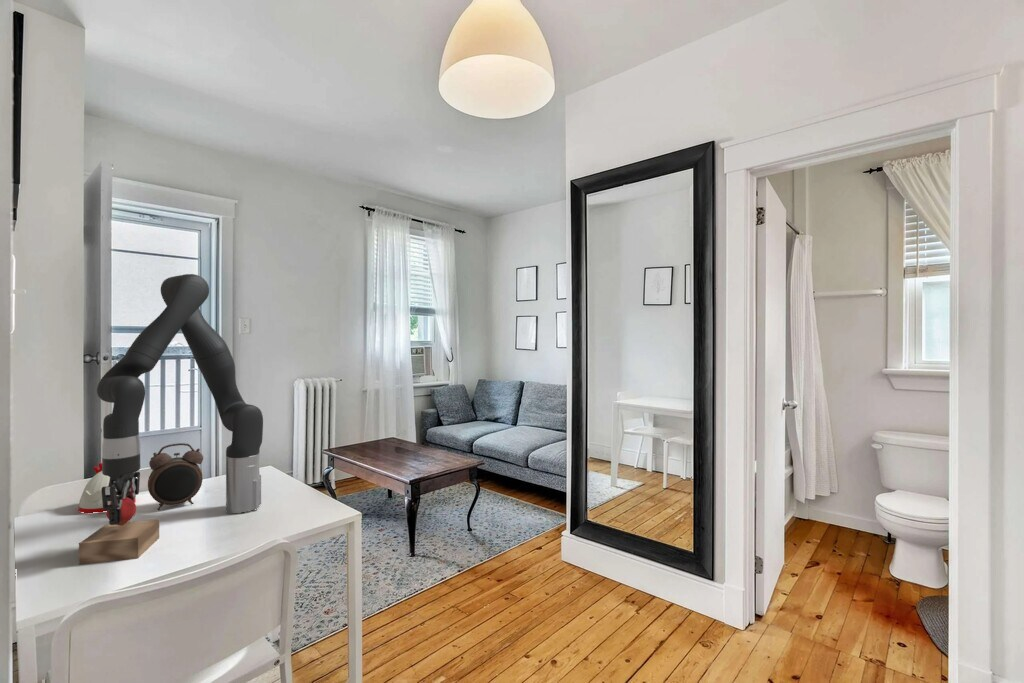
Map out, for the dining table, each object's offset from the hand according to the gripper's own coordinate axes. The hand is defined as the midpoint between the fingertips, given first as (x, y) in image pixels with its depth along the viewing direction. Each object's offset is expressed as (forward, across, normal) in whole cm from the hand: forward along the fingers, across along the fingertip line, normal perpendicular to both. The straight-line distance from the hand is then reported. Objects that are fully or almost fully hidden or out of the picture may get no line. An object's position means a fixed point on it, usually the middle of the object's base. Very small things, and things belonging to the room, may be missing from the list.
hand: (122, 519), depth 121 cm
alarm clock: (+8, +32, -1) cm, 33 cm away
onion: (+2, 0, 0) cm, 2 cm away
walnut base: (+8, 0, 0) cm, 8 cm away
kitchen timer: (+8, +38, +20) cm, 44 cm away
